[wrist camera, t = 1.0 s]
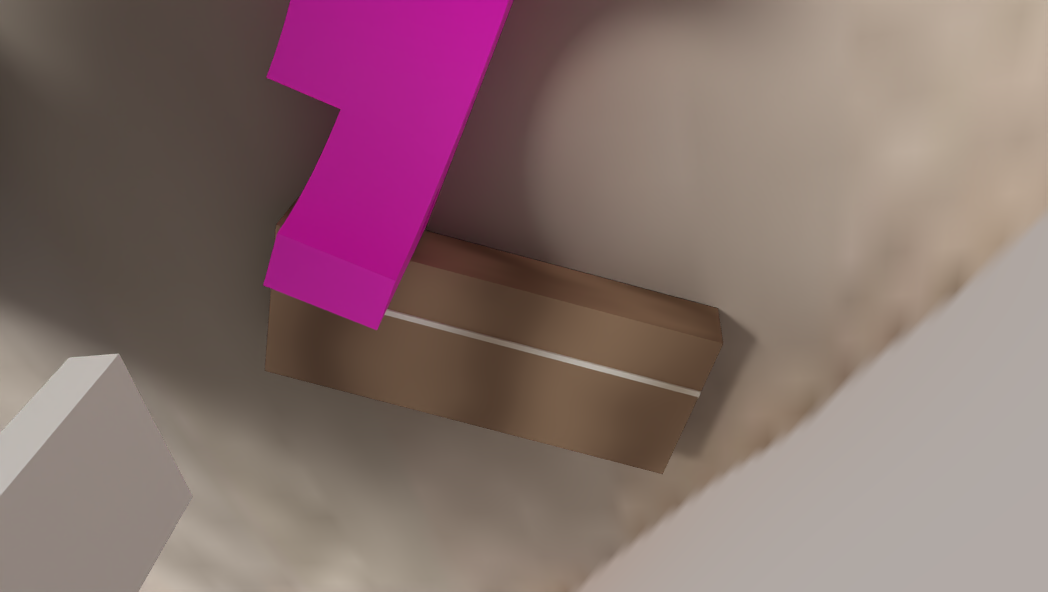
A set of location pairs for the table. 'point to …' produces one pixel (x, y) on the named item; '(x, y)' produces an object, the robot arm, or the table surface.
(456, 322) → the brown flat bar
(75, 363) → the robot arm
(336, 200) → the toy block
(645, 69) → the table surface
